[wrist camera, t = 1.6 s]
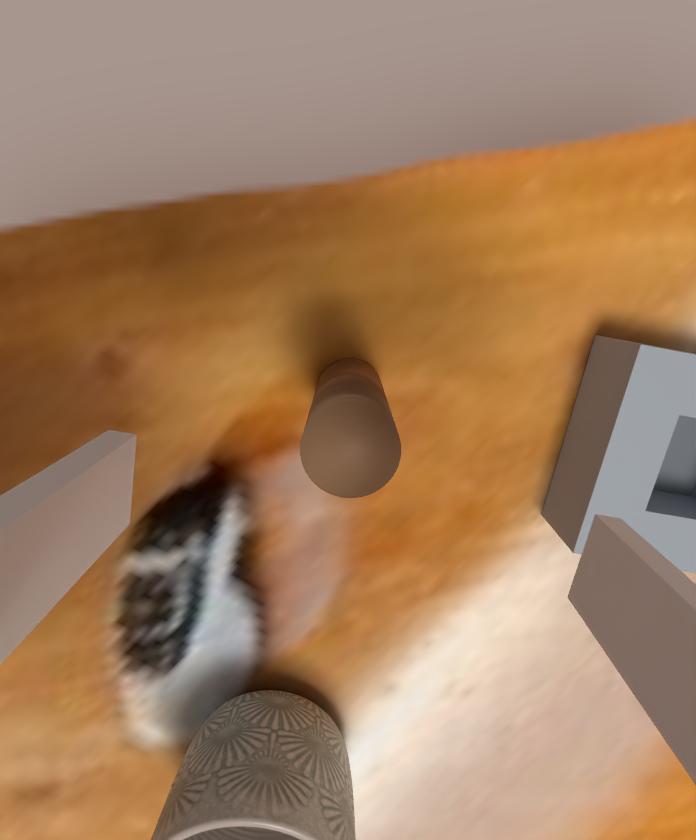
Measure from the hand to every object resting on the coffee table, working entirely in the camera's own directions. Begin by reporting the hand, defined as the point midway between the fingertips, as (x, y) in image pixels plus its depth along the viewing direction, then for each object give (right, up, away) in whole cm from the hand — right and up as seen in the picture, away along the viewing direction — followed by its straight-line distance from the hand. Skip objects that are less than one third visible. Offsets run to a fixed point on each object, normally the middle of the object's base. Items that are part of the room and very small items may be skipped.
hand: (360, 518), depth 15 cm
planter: (-6, -21, +25) cm, 33 cm away
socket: (+19, +1, +18) cm, 27 cm away
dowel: (0, +5, +17) cm, 18 cm away
